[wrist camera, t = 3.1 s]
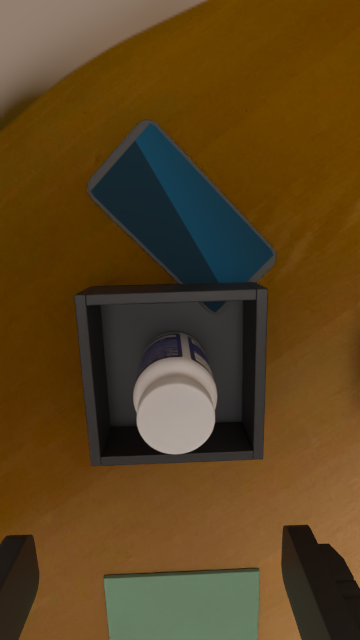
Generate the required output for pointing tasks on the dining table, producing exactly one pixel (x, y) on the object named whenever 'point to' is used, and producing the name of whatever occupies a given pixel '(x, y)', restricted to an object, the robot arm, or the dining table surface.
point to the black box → (129, 344)
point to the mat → (183, 605)
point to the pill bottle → (175, 394)
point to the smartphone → (178, 214)
